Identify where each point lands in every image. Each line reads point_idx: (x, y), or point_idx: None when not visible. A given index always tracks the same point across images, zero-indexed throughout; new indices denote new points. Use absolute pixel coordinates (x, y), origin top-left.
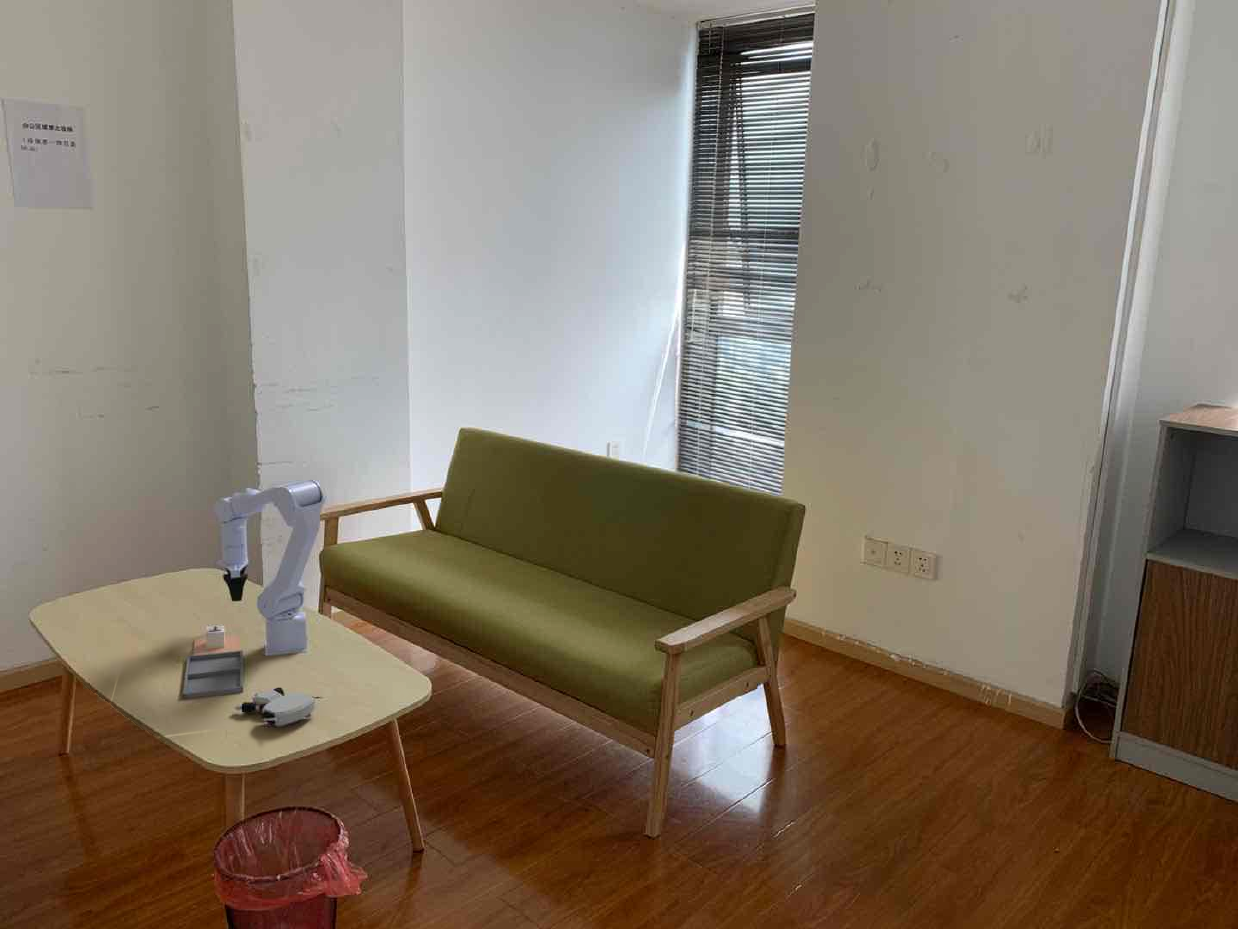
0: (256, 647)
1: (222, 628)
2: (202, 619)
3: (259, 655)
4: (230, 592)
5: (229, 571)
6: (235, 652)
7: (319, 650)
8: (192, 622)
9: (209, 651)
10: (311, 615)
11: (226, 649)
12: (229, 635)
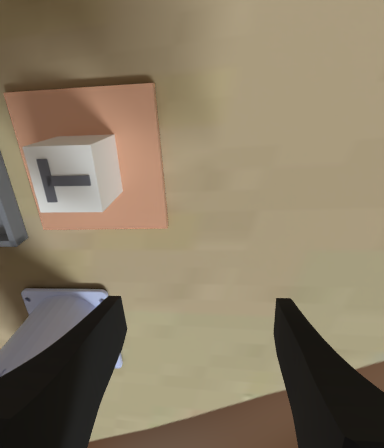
0: (86, 268)
1: (72, 206)
2: (380, 90)
3: (35, 274)
4: (71, 331)
5: (317, 404)
6: (5, 227)
7: None
8: (362, 48)
9: None
10: (280, 387)
11: None
12: (163, 202)
